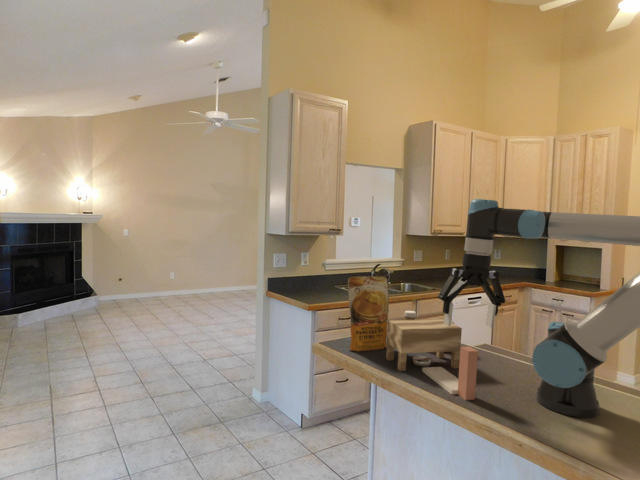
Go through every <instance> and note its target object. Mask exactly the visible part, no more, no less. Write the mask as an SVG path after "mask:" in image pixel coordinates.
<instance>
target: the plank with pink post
mask: <svg viewBox="0 0 640 480" xmlns="http://www.w3.org/2000/svg"><path fill="white" fill-rule="evenodd" d="M478 357H479V351H478V350H477V349H475V348H473V347H471V346H461V348H460V364H459V368H458V377H456V376H455V375H454V374H452V373H451V372H449V371H448V370H446V369H445V368H444V367H442V366H426V367H422V368H421V371H422V373H424V374H425V375H426V376H427V377H428V378H430V379H431V380H433V381H434V382H435V383H436V384H437V385H439V386H440V387H441V388H443V389H444V390H445V391H446V392H448V393H449V394H450V395H458V396H459V397H460V398H462V399H463V400H464V401H471V400H475V399H476V386H477V371H478Z"/></svg>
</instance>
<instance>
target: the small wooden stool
mask: <svg viewBox="0 0 640 480" xmlns="http://www.w3.org/2000/svg"><path fill="white" fill-rule="evenodd" d="M462 329H463V328H462V327H460V326H458V325H456V324H455V323H454V324H452V323H451V326H448V325H446V324H444V318H439V319H438V318H436V319H435V318H434V319H415V320H405V319H391V320H390V319H388V324H387V338H386V345H387V347H386V351H385V352H386V353H385V358H386V360H387V361H394V357H395V350H396V351H397V352H398V354H397V357H398V358H397V370H398V371H399V372H406V369H407V354H415V353H416V354H419V353H436V356H435V357H436V358H438V359H445V353H449V351H450V352H451V359H450V367H451V368H453V369H459V364H460V348H461V347H462V344H461V343H462V333H463V331H462Z"/></svg>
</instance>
